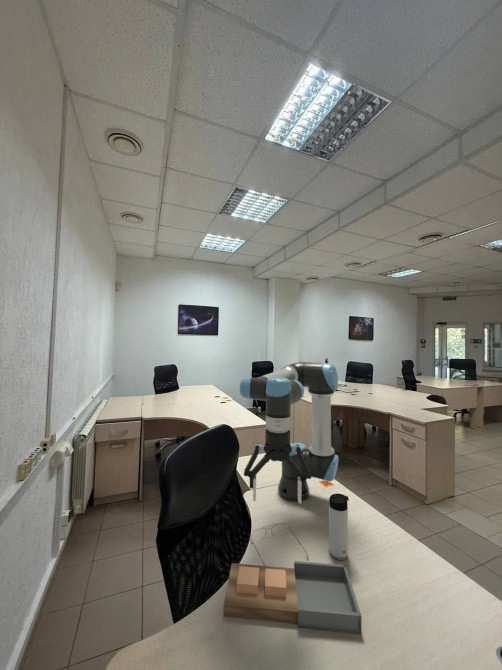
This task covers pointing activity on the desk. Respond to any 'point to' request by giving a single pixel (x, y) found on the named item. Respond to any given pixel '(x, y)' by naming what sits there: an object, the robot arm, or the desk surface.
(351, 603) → the tray
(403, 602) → the desk surface
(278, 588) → the tile
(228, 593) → the wooden plank
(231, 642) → the desk surface
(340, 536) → the travel mug
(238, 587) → the tile
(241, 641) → the desk surface
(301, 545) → the eyeglasses
